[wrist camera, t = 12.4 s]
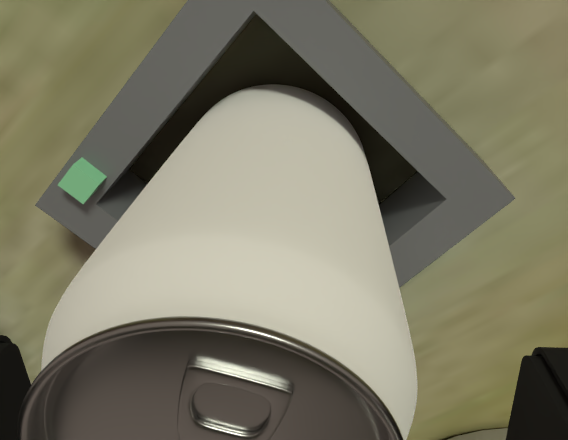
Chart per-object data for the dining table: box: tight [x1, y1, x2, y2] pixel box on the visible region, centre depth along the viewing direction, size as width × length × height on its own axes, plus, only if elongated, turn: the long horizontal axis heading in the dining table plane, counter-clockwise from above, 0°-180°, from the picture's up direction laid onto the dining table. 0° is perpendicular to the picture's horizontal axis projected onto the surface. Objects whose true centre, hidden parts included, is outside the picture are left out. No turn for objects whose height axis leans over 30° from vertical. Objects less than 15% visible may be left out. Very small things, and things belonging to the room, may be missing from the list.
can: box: [17, 84, 417, 440], centre depth 12 cm, size 6×6×12 cm
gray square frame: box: [35, 0, 515, 288], centre depth 16 cm, size 10×10×4 cm
